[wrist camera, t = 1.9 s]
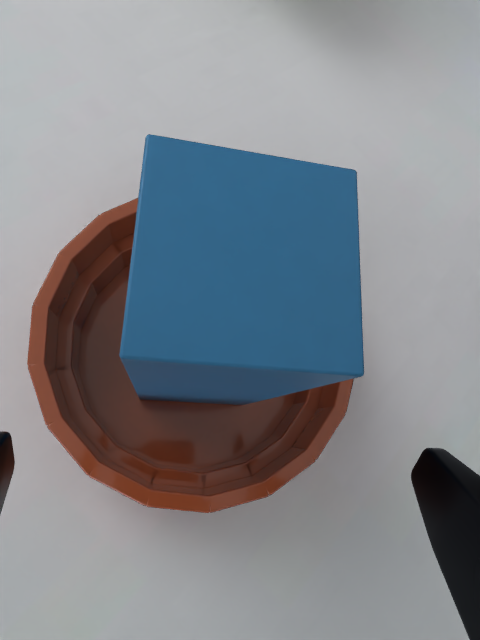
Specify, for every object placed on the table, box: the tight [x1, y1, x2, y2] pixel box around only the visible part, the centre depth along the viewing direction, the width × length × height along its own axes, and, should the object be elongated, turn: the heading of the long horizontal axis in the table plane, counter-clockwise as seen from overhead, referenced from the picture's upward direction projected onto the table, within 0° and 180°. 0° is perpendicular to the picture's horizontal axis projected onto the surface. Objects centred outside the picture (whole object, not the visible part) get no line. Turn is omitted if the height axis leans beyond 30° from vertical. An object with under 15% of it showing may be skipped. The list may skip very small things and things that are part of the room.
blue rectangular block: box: [119, 134, 364, 405], centre depth 14 cm, size 5×5×12 cm
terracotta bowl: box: [27, 198, 354, 513], centre depth 18 cm, size 13×13×4 cm
